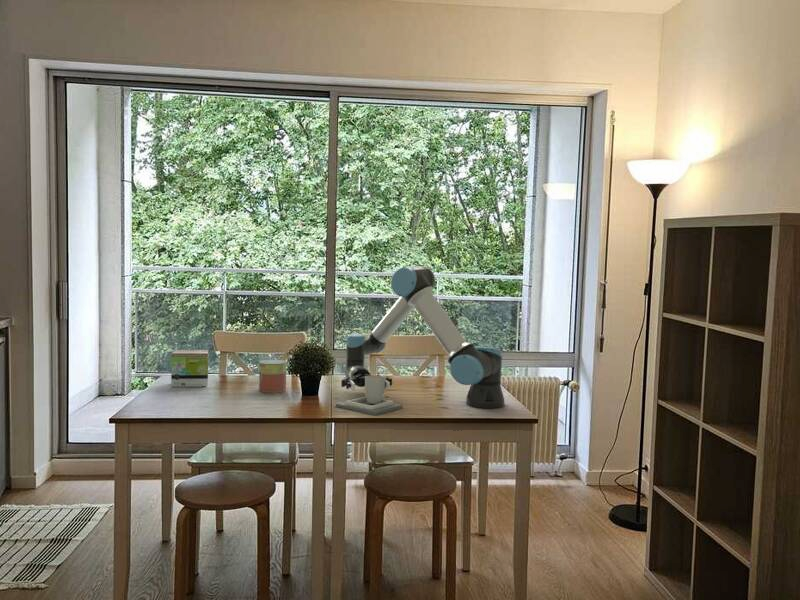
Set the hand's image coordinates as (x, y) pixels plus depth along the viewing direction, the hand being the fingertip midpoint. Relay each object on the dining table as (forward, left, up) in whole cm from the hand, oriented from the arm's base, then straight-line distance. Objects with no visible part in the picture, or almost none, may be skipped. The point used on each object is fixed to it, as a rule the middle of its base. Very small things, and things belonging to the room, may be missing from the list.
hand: (371, 386), depth 282 cm
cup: (+2, -4, -7) cm, 9 cm away
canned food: (+53, +2, -9) cm, 53 cm away
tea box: (+85, +20, -9) cm, 87 cm away
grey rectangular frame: (+3, -2, -9) cm, 9 cm away
